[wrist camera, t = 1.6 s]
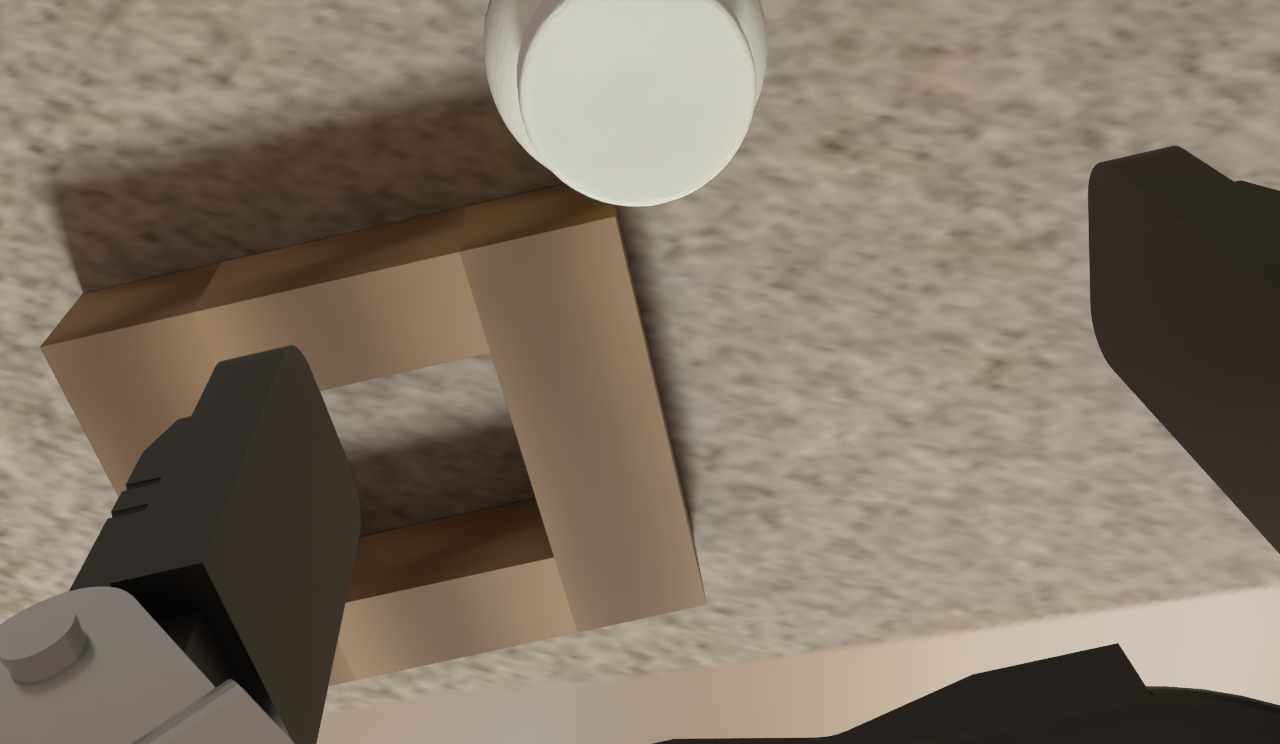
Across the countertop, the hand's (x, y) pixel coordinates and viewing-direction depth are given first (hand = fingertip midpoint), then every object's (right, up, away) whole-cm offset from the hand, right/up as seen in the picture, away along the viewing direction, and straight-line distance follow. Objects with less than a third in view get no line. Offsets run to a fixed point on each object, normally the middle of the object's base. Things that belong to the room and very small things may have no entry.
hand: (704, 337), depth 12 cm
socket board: (-7, -2, +21) cm, 23 cm away
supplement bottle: (-1, +9, +16) cm, 19 cm away
